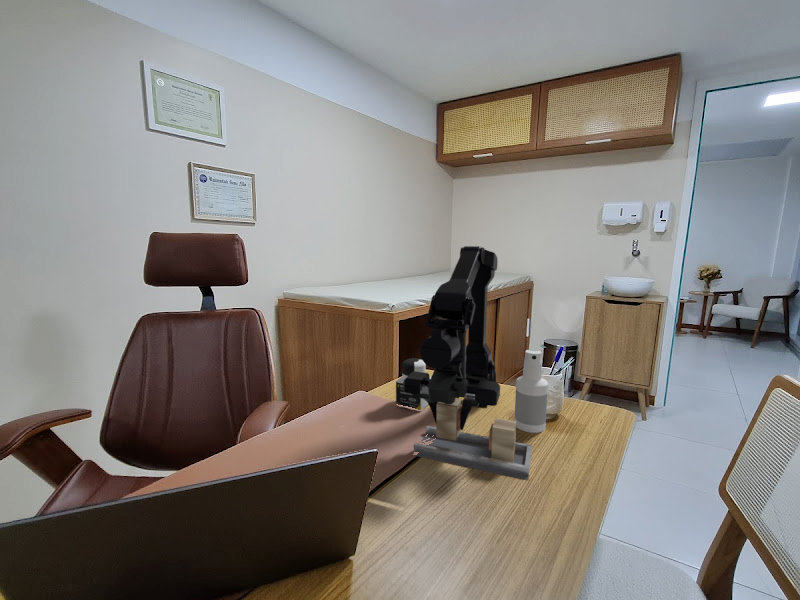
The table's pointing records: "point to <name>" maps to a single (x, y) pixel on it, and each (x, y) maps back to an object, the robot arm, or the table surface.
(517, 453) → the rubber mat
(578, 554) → the table surface
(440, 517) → the table surface
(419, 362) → the medicine bottle
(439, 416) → the beech finger
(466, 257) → the robot arm
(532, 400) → the spray bottle
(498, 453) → the beige upright rectangular block
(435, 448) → the grey tray
